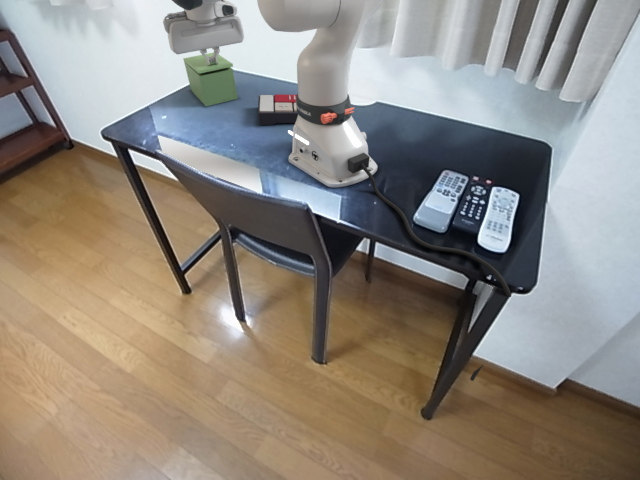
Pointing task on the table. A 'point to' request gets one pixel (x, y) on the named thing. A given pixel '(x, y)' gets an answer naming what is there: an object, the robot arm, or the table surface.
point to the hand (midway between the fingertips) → (212, 64)
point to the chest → (212, 85)
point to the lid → (201, 67)
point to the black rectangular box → (277, 109)
